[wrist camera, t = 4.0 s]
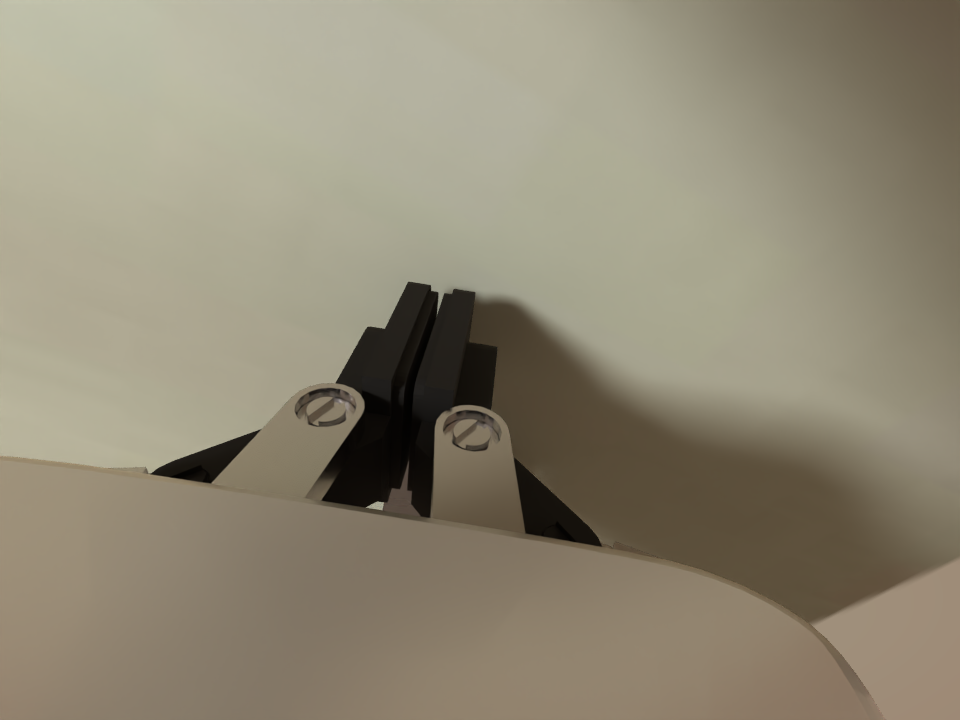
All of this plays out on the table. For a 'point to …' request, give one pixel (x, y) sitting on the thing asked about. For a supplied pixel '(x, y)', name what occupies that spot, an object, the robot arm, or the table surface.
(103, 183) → the table surface
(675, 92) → the table surface
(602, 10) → the table surface
